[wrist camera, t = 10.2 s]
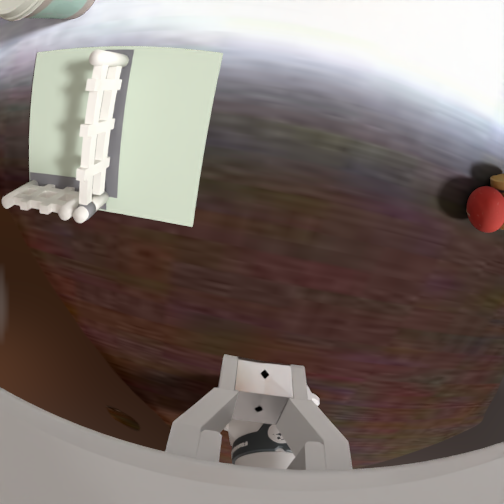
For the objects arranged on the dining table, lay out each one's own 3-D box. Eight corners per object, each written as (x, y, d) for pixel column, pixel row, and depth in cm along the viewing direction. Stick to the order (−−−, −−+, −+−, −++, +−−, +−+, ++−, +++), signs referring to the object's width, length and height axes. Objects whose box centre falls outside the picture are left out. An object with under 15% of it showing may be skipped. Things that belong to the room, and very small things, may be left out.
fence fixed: (96, 188, 34) (69, 207, 28) (95, 200, 35) (70, 221, 29) (30, 179, 33) (1, 195, 27) (30, 190, 34) (2, 208, 28)
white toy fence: (108, 205, 35) (85, 225, 29) (96, 202, 34) (72, 222, 29) (131, 54, 26) (106, 49, 21) (116, 54, 26) (90, 49, 21)
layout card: (193, 225, 37) (192, 227, 36) (32, 197, 35) (30, 198, 34) (223, 53, 27) (222, 52, 27) (39, 52, 25) (36, 52, 25)
